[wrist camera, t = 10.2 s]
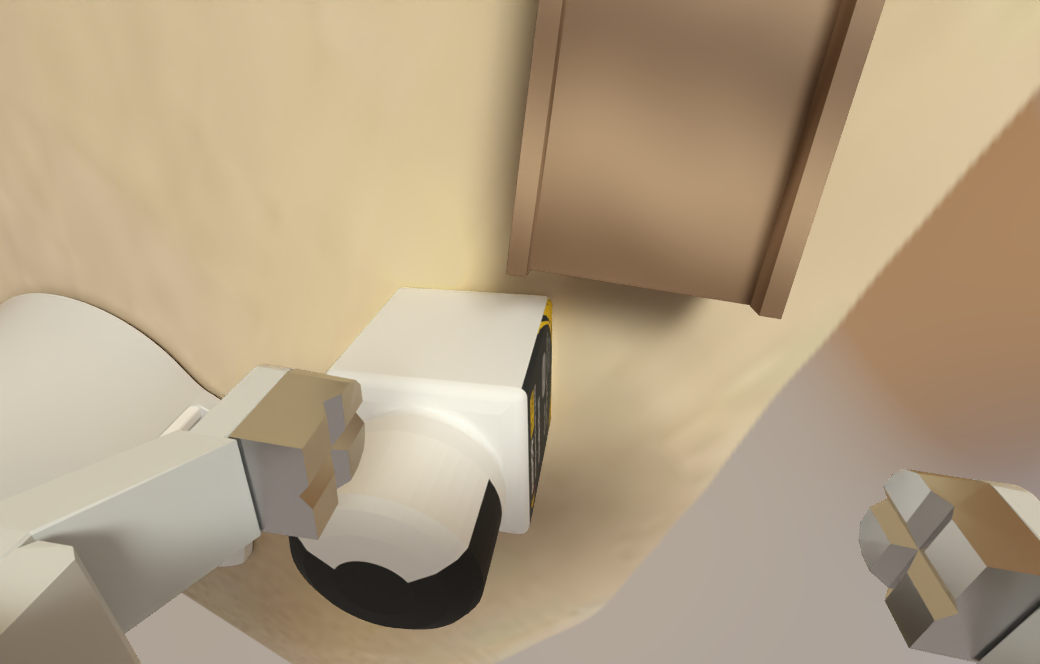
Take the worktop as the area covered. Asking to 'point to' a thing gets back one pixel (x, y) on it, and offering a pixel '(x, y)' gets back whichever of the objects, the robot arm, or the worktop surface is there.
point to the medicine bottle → (436, 454)
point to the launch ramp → (684, 140)
